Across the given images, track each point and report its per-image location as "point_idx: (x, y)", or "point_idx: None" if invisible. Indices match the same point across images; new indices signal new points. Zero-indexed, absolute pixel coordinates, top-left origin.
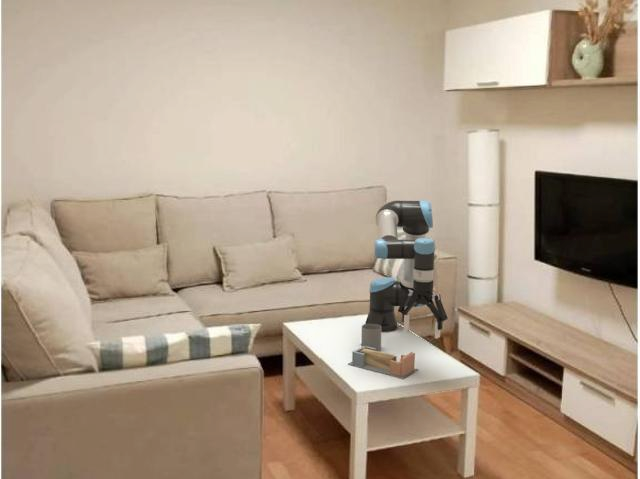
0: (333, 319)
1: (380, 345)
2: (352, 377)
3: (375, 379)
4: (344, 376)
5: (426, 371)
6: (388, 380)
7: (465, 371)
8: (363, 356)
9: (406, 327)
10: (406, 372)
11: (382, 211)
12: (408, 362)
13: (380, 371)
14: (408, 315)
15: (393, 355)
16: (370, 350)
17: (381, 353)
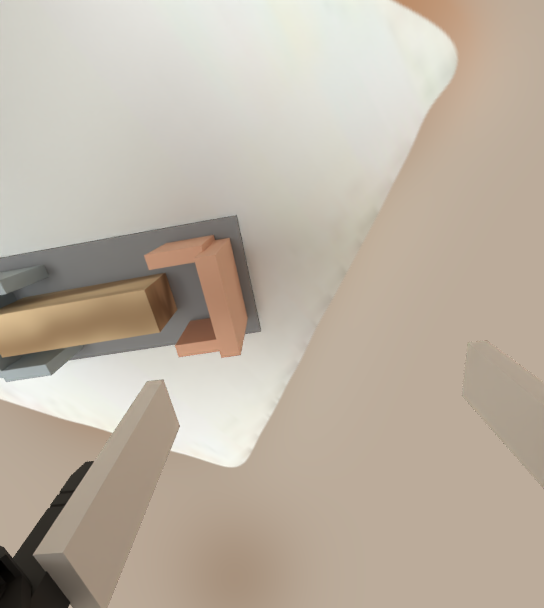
0: None
1: None
2: None
3: (201, 390)
4: None
5: (266, 200)
6: (234, 370)
7: (404, 40)
8: (56, 368)
9: (163, 441)
10: (242, 302)
11: None
12: (234, 304)
13: (159, 339)
14: (85, 548)
15: (129, 294)
16: (15, 319)
17: (77, 313)
